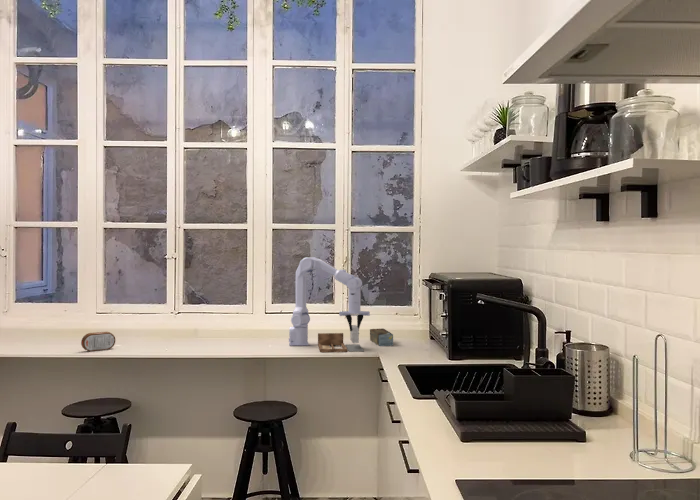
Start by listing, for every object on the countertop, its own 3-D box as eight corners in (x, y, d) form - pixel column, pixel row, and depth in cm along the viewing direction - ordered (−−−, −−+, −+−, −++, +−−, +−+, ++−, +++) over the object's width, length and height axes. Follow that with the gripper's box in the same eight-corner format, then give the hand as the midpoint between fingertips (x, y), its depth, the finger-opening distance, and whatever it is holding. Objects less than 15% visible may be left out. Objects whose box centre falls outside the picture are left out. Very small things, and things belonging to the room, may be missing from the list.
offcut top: (323, 351, 279) (323, 349, 279) (321, 346, 292) (321, 345, 292) (331, 351, 280) (331, 349, 280) (328, 346, 292) (328, 345, 292)
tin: (113, 348, 284) (113, 330, 284) (116, 349, 282) (116, 331, 282) (80, 351, 274) (80, 333, 274) (83, 352, 272) (83, 334, 272)
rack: (320, 352, 276) (320, 339, 275) (317, 345, 295) (317, 333, 295) (347, 351, 277) (347, 339, 277) (343, 345, 296) (343, 333, 296)
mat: (349, 351, 278) (349, 350, 278) (345, 345, 295) (345, 344, 295) (363, 351, 278) (363, 350, 278) (359, 345, 296) (359, 344, 296)
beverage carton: (378, 346, 294) (378, 333, 294) (369, 340, 313) (369, 328, 313) (393, 346, 295) (393, 332, 295) (384, 340, 314) (384, 327, 314)
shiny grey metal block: (352, 342, 281) (352, 328, 281) (350, 339, 292) (350, 325, 292) (358, 342, 281) (358, 327, 281) (355, 339, 292) (356, 325, 292)
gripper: (340, 303, 282) (340, 332, 282) (370, 303, 284) (370, 331, 284) (338, 302, 289) (338, 330, 289) (368, 301, 291) (368, 329, 291)
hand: (354, 330), depth 287 cm, fingers closed on shiny grey metal block, 3 cm apart
